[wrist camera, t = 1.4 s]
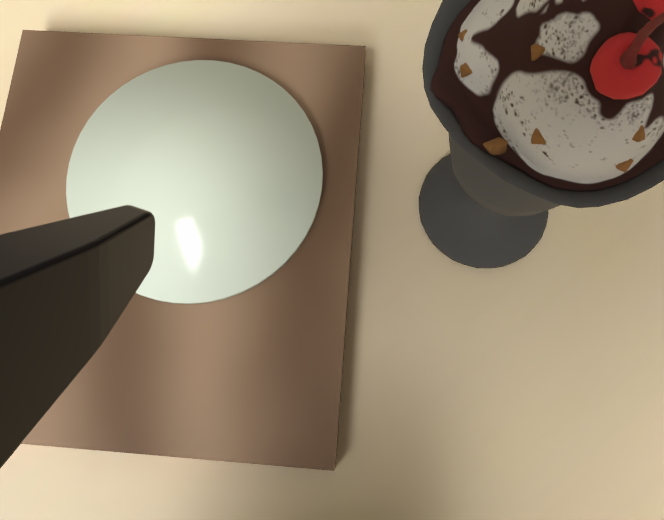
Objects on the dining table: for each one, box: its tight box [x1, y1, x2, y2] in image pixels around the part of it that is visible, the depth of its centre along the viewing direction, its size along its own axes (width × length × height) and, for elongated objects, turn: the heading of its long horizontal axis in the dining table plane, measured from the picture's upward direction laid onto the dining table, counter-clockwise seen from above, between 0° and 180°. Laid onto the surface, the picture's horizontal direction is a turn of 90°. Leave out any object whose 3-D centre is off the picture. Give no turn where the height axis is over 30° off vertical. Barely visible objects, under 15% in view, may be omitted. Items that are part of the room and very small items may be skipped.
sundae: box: [419, 0, 664, 268], centre depth 16 cm, size 7×7×15 cm
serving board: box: [0, 30, 365, 470], centre depth 23 cm, size 14×16×1 cm
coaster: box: [66, 60, 323, 305], centre depth 23 cm, size 10×10×1 cm
